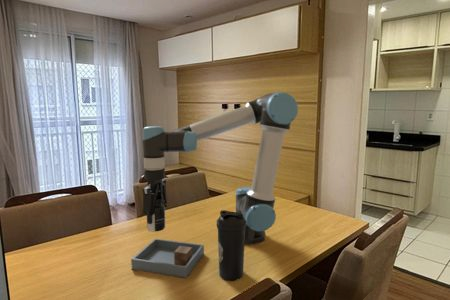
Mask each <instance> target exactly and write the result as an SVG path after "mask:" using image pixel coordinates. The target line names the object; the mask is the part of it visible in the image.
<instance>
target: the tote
mask: <svg viewBox="0 0 450 300" xmlns="http://www.w3.org/2000/svg"><path fill="white" fill-rule="evenodd" d="M179 246H185V247H192V258H191V259H190V261H189V262H188V263H187V264H186V266H182V265H175V264H174V251H175V250H176V249H177V248H178V247H179ZM204 250H205V245H204V244H202V243H199V244H198V243H191V242H183V241H177V240H169V239H161V238H154V239H153V240H151V242H149V243H148V244H147V245H146V246H145V247H144V248H142V249H141V250H140V251H139V252H138V253H136V254H135V255H134V256H133V257H132V258H131V260H130V262H131V270H133V271H139V272H146V273H151V274H152V273H153V274H157V275H164V276H169V277H176V278H182V279H188V277H189V276H190V274H191V273H192V272H193V270H194V269H195V268H196V266H197V265H198V263H199V262H200V260H201V259H202V258H203V256H204V255H205V251H204Z"/></svg>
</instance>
